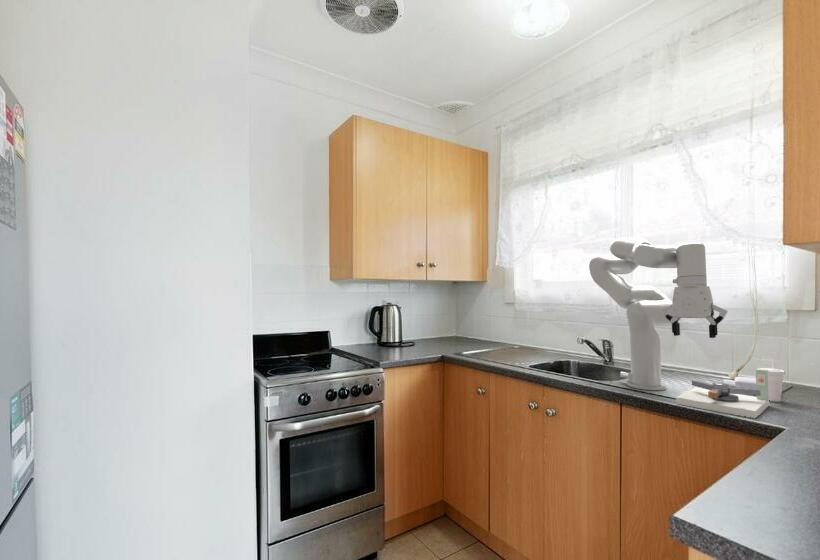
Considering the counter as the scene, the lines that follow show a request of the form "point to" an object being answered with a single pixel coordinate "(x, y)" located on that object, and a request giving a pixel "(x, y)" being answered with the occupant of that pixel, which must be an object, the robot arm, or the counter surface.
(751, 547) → the counter surface
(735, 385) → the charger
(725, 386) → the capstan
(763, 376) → the stand
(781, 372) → the smoothie
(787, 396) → the counter surface
